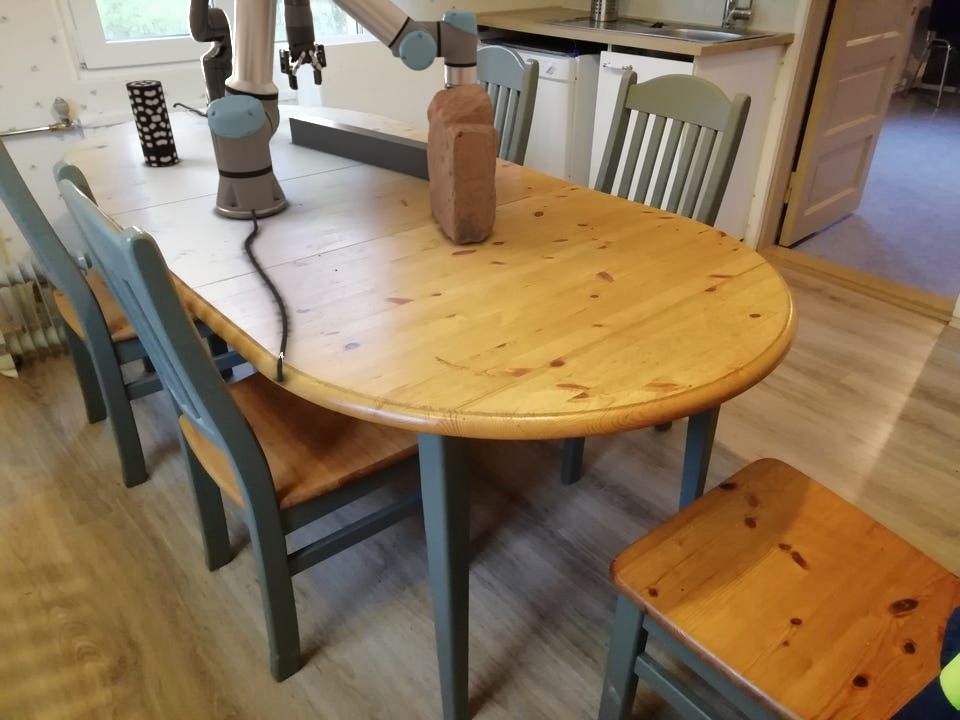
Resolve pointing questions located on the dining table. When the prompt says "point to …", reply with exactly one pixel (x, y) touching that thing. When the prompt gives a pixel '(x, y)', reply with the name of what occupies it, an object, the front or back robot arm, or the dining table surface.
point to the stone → (462, 162)
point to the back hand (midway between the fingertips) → (306, 87)
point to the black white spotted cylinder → (152, 122)
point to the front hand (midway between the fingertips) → (461, 179)
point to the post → (361, 144)
